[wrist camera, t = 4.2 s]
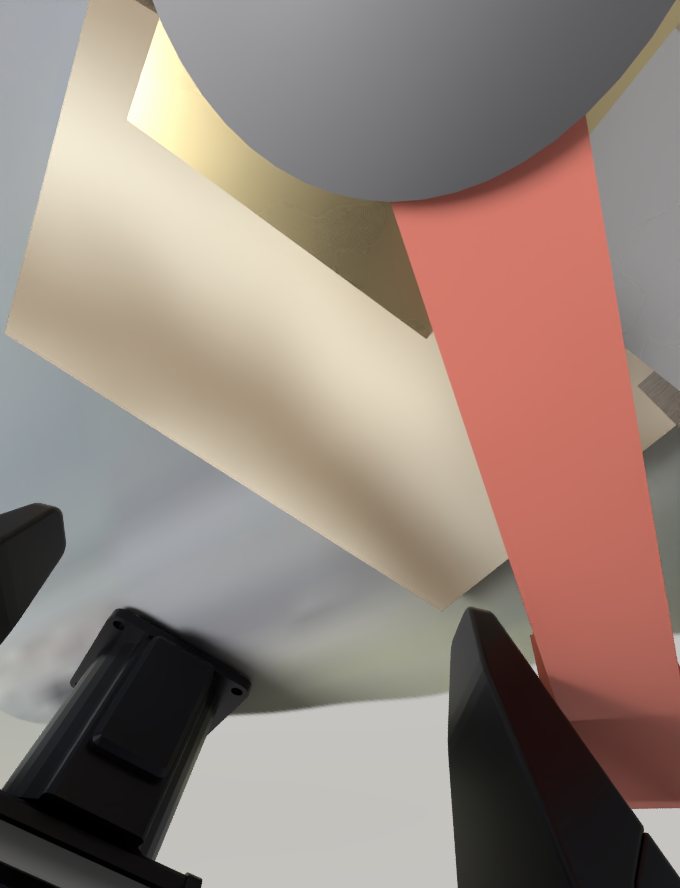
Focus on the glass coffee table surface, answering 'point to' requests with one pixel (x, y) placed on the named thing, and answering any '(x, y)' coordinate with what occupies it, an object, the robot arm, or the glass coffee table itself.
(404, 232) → the lever
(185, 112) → the valve body
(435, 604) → the board
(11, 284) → the glass coffee table surface
